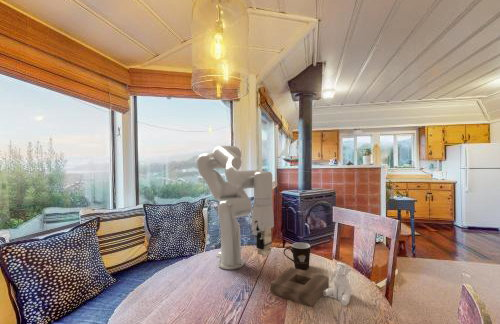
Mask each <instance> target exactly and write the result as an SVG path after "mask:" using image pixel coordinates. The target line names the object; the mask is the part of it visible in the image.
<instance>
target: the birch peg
mask: <svg viewBox="0 0 500 324" xmlns="http://www.w3.org/2000/svg"><path fill="white" fill-rule="evenodd" d="M259 230H260V229H259ZM271 233H272V232H271V225H270V226H267V227H265V231H263V239H264V249H259V248H257V246H256V245H255V246H256V249H257V255H259V256H260V255H261V256H264V257H265V256H268V255H269V254H271V246H272V243H273V242H272V235H271ZM259 234H261V233H260V232H259Z"/></svg>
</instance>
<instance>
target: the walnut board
mask: <svg viewBox="0 0 500 324" xmlns="http://www.w3.org/2000/svg"><path fill="white" fill-rule="evenodd" d="M329 278H330V277H329V276H327V275H324V274H321V273H320V274H319V273H316V272H311V271H308V270H300V269H296V268H295V267H291V266H290V267H289V268H288V269H287V270H285V271H283V273H281V274H279V276H277V277H276V278H274V279H273V280H272V281H270V294H272V295H276V296H278V297H281V298H285V299H286V300H290V301H293V302H295V303H299V304H302V305H305V306H307V307H310V308H312V307H313V306H314V305H316V303H317V302H318V300H319V299H320V298H321V297H323V296H324V295H323V290H326V289H327V288H330V286H329V283H330V282H329V281H330V280H329Z"/></svg>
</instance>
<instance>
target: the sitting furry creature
mask: <svg viewBox="0 0 500 324" xmlns="http://www.w3.org/2000/svg"><path fill="white" fill-rule="evenodd" d="M334 269H335V271H334V272H335V276H334V277H333V280H332V282H333V284H334V285H333V286H332V287H329V288H327V289H326V290H323V295H322V296H324V297H325V298H328V297H330V298H332V299H337V300H338V301H339V302H341V304H342V306H343V307H347V306H348V305H349V303H350V298H351V295H352V289H351V285H350V283H349V279H348V278H347V276H348V274H349V273H350V272H352V271H351V270H352V268H351V267H349V266H348V265H347V264H346V263H343V262H338V261H337V263H336V264H335V267H334Z"/></svg>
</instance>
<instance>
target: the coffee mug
mask: <svg viewBox="0 0 500 324" xmlns="http://www.w3.org/2000/svg"><path fill="white" fill-rule="evenodd" d="M286 250H288V251H290V252H291V253H292V258H291V257H289V256H288V255H287V254H286V253H285V252H286ZM283 255H284V256H285V257H286V258H287V259H289V260H290V261H292V262H293V264H294V268H296V269H300V270H304V271H308V270H309V268H310V259H311V258H310V256H311V245H310V243H306V242H294V243H292V244H291V248H289V247H286V248H284V249H283Z"/></svg>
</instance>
